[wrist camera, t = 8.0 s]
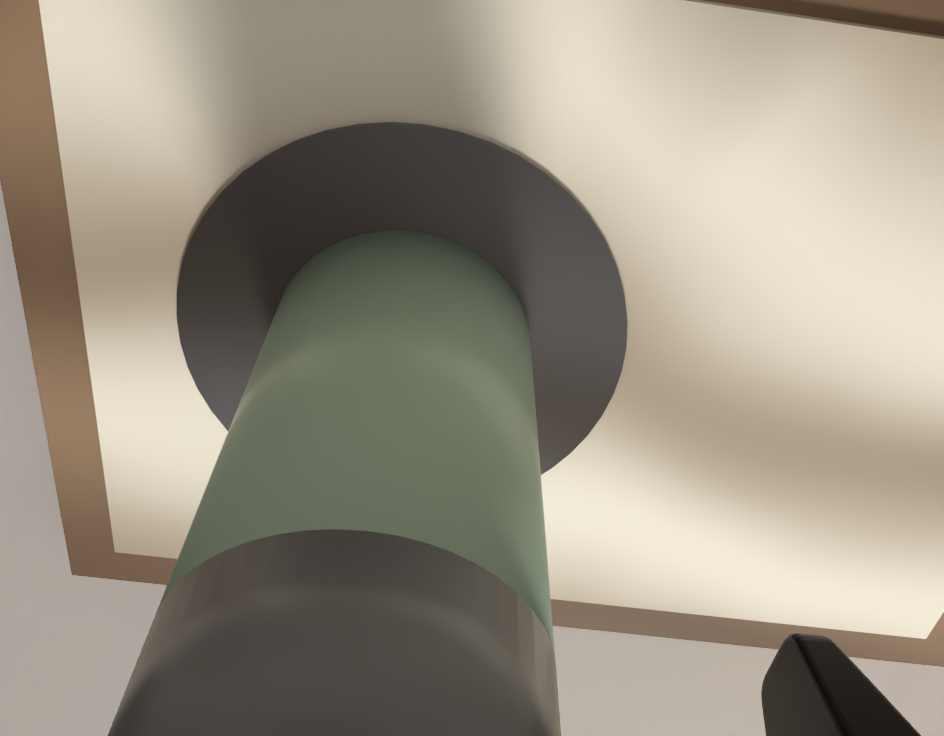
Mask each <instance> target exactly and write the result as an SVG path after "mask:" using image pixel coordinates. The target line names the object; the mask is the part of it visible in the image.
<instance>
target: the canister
mask: <svg viewBox="0 0 944 736" xmlns="http://www.w3.org/2000/svg"><path fill="white" fill-rule="evenodd" d="M108 736H561V729H560V716H559V703H558V690H557V677H556V664H555V651H554V638H553V625H552V613H551V600H550V587H549V574H548V561H547V548H546V535H545V522H544V509H543V496H542V483H541V470H540V457H539V445H538V432H537V419H536V406H535V393H534V380H533V367H532V354H531V341H530V332H529V326H528V321H527V318H526V315H525V312H524V309H523V306H522V304H521V302H520V300H519V299H518V297H517V295H516V293H515V291H514V290H513V288H512V287H511V286H510V284H509V283H508V282H507V280H506V279H505V278H504V277H503V276H502V275H501V274H500V273H499V272H498V271H497V270H496V269H495V267H493V266H492V265H491V264H490V263H488V262H487V261H486V260H485V259H483V258H482V257H481V256H479V255H478V254H476V253H474V252H473V251H471V250H469V249H468V248H466V247H464V246H462V245H459V244H457V243H455V242H453V241H451V240H448V239H445V238H441V237H438V236H435V235H431V234H426V233H421V232H415V231H401V230H390V231H376V232H371V233H365V234H360V235H357V236H354V237H351V238H347V239H344V240H342V241H340V242H338V243H335V244H333V245H331V246H329V247H327V248H326V249H324V250H323V251H321V252H320V253H318V254H316V255H315V256H314V257H312V258H311V259H310V260H309V261H308V262H307V263H306V264H304V265H303V266H302V267H301V268H300V270H299V271H298V272H297V273H296V274H295V275H294V277H293V278H292V279H291V281H290V283H289V284H288V286H287V287H286V289H285V291H284V293H283V295H282V298H281V300H280V303H279V305H278V308H277V310H276V313H275V315H274V318H273V320H272V323H271V325H270V328H269V330H268V333H267V335H266V338H265V340H264V343H263V345H262V348H261V350H260V353H259V355H258V358H257V361H256V363H255V366H254V368H253V371H252V373H251V376H250V378H249V381H248V383H247V386H246V388H245V391H244V393H243V396H242V398H241V401H240V403H239V406H238V408H237V411H236V413H235V416H234V418H233V421H232V424H231V426H230V429H229V431H228V434H227V436H226V439H225V441H224V444H223V446H222V449H221V451H220V454H219V456H218V459H217V461H216V464H215V466H214V469H213V471H212V474H211V476H210V479H209V482H208V484H207V487H206V489H205V492H204V494H203V497H202V499H201V502H200V504H199V507H198V509H197V512H196V514H195V517H194V519H193V522H192V524H191V527H190V529H189V532H188V534H187V537H186V539H185V542H184V545H183V547H182V550H181V552H180V555H179V557H178V560H177V562H176V565H175V567H174V570H173V572H172V575H171V577H170V580H169V582H168V585H167V587H166V590H165V592H164V595H163V597H162V600H161V603H160V605H159V608H158V610H157V613H156V615H155V618H154V620H153V623H152V625H151V628H150V630H149V633H148V635H147V638H146V640H145V643H144V645H143V648H142V650H141V653H140V655H139V658H138V660H137V663H136V666H135V668H134V671H133V673H132V676H131V678H130V681H129V683H128V686H127V688H126V691H125V693H124V696H123V698H122V701H121V703H120V706H119V708H118V711H117V713H116V716H115V718H114V721H113V723H112V726H111V729H110V731H109V734H108Z"/></svg>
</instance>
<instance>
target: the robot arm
mask: <svg viewBox="0 0 944 736" xmlns="http://www.w3.org/2000/svg"><path fill="white" fill-rule="evenodd" d="M762 707H763V715H764V723H765V730H766V736H921V735H920V734H919V733H918V732H917V731H916V730H915V729H914V728H913V726H912V725H911V724H910V723H909V722H908V721H907V720H906V719H905V718H904V717H903V716H902V715H901V714H900V712H899V711H898V710H897V709H896V708H895V707H894V706H893V705H892V704H891V703H890V702H889V701H888V700H887V698H886V697H885V696H884V695H883V694H882V693H881V692H880V691H879V690H878V689H877V688H876V687H875V686H874V684H873V683H872V682H871V681H870V680H869V679H868V678H867V677H866V676H865V675H864V674H863V673H862V672H861V670H860V669H859V668H858V667H857V666H856V665H855V664H854V663H853V662H852V661H851V660H850V659H849V658H848V656H847V655H846V654H845V653H844V652H843V651H842V650H841V649H840V648H839V647H838V646H837V645H836V644H835V643H834V642H833V641H832V640H831V639H829V638H827V637H825V636H821V635H813V634H803V633H791V634H789V635H788V636H787V637H786V638H785V639H784V641H783V642H782V644H781V646H780V648H779V650H778V652H777V654H776V656H775V658H774V660H773V662H772V664H771V666H770V668H769V670H768V672H767V673H766V675H765V678H764V681H763V685H762Z"/></svg>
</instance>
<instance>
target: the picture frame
mask: <svg viewBox="0 0 944 736" xmlns="http://www.w3.org/2000/svg"><path fill="white" fill-rule="evenodd" d="M0 180H1V186H2V191H3V197H4V202H5V208H6V213H7V219H8V225H9V230H10V236H11V241H12V247H13V252H14V258H15V263H16V269H17V274H18V280H19V285H20V291H21V296H22V302H23V307H24V313H25V318H26V324H27V329H28V335H29V340H30V346H31V351H32V357H33V363H34V368H35V374H36V379H37V385H38V390H39V396H40V401H41V407H42V412H43V418H44V423H45V429H46V434H47V440H48V445H49V451H50V456H51V462H52V467H53V473H54V478H55V484H56V490H57V495H58V501H59V506H60V512H61V517H62V523H63V528H64V534H65V539H66V545H67V550H68V556H69V561H70V567H71V572H72V575H78V576H88V577H97V578H107V579H116V580H126V581H135V582H145V583H154V584H164V585H168V582H169V580H170V577H171V575H172V572H173V570H174V567H175V565H176V562H177V560H178V557H179V555H180V552H181V550H182V547H183V545H184V542H185V539H186V537H187V534H188V532H189V529H190V527H191V524H192V522H193V519H194V517H195V514H196V512H197V509H198V507H199V504H200V502H201V499H202V497H203V494H204V492H205V489H206V487H207V484H208V482H209V479H210V476H211V474H212V471H213V469H214V466H215V464H216V461H217V459H218V456H219V454H220V451H221V449H222V446H223V444H224V441H225V439H226V436H227V434H228V431H229V429H230V426H231V424H232V421H233V418H234V416H235V413H236V411H237V408H238V406H239V403H240V401H241V398H242V396H243V393H244V391H245V388H246V386H247V383H248V381H249V378H250V376H251V373H252V371H253V368H254V366H255V363H256V361H257V358H258V355H259V353H260V350H261V348H262V345H263V343H264V340H265V338H266V335H267V333H268V330H269V328H270V325H271V323H272V320H273V318H274V315H275V313H276V310H277V308H278V305H279V303H280V300H281V298H282V295H283V293H284V291H285V289H286V287H287V286H288V284H289V283H290V281H291V279H292V278H293V277H294V275H295V274H296V273H297V272H298V271H299V270H300V268H301V267H302V266H303V265H304V264H306V263H307V262H308V261H309V260H310V259H311V258H312V257H314V256H315V255H316V254H318V253H320V252H321V251H323V250H324V249H326V248H327V247H329V246H331V245H333V244H335V243H338V242H340V241H342V240H344V239H347V238H351V237H354V236H357V235H360V234H365V233H371V232H376V231H390V230H401V231H415V232H421V233H426V234H431V235H435V236H438V237H441V238H445V239H448V240H451V241H453V242H455V243H457V244H459V245H462V246H464V247H466V248H468V249H469V250H471V251H473V252H474V253H476V254H478V255H479V256H481V257H482V258H483V259H485V260H486V261H487V262H488V263H490V264H491V265H492V266H493V267H495V269H496V270H497V271H498V272H499V273H500V274H501V275H502V276H503V277H504V278H505V279H506V280H507V282H508V283H509V284H510V286H511V287H512V288H513V290H514V291H515V293H516V295H517V297H518V299H519V300H520V302H521V304H522V306H523V309H524V312H525V315H526V318H527V321H528V326H529V332H530V341H531V354H532V367H533V380H534V393H535V406H536V419H537V432H538V445H539V457H540V470H541V483H542V496H543V509H544V522H545V535H546V548H547V561H548V574H549V587H550V600H551V613H552V625H553V626H562V627H572V628H581V629H590V630H600V631H609V632H619V633H628V634H638V635H647V636H657V637H666V638H676V639H685V640H695V641H704V642H714V643H723V644H733V645H742V646H752V647H761V648H771V649H779V648H780V646H781V644H782V642H783V641H784V639H785V638H786V637H787V636H788V635H789V634H791V633H803V634H813V635H821V636H825V637H827V638H829V639H831V640H832V641H833V642H834V643H835V644H836V645H837V646H838V647H839V648H840V649H841V650H842V651H843V652H844V653H845V654H846V655H847V656H848V657H856V658H866V659H875V660H885V661H894V662H904V663H913V664H923V665H932V666H941V667H944V0H0Z"/></svg>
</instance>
